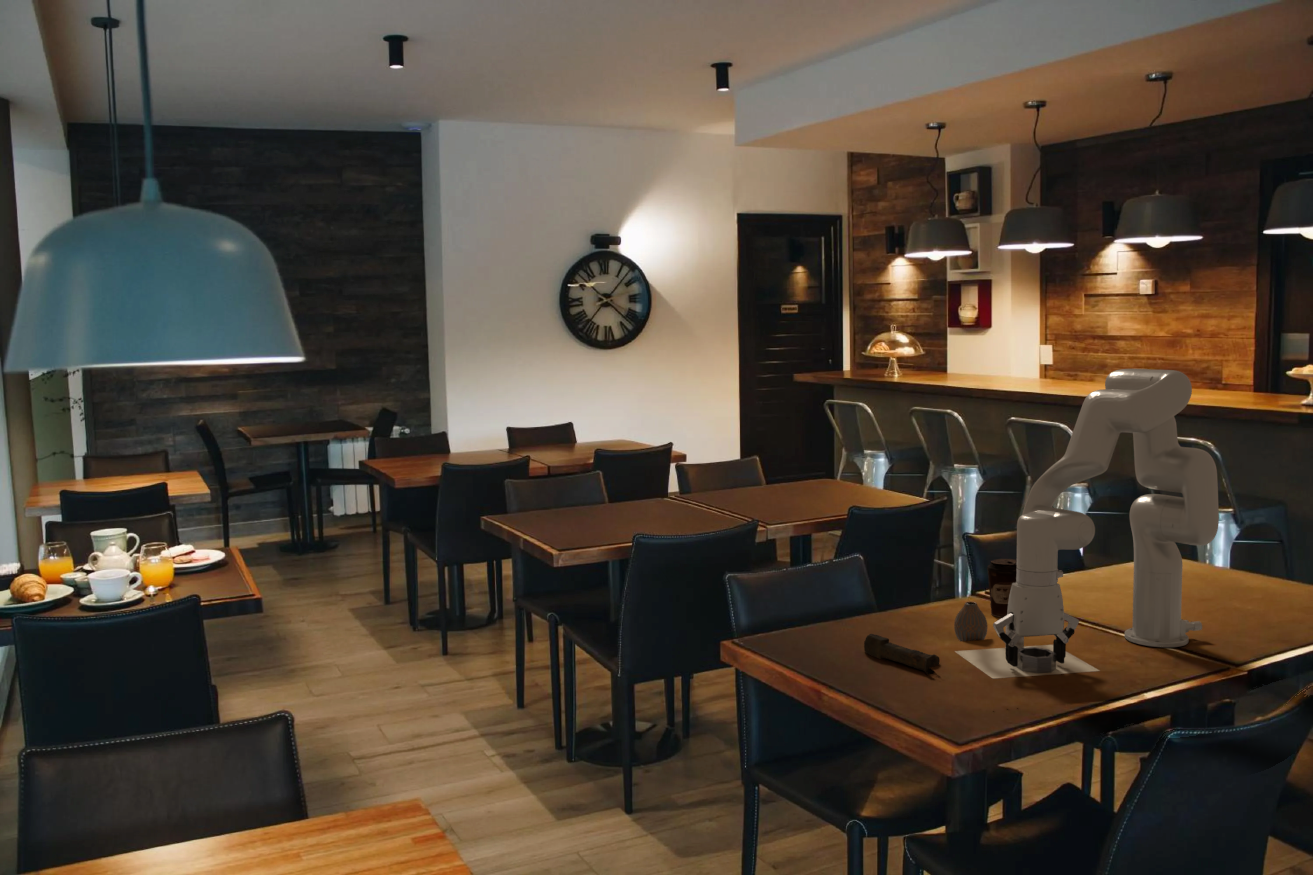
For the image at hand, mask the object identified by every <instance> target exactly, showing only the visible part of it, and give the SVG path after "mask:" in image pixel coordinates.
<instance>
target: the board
mask: <svg viewBox="0 0 1313 875" xmlns="http://www.w3.org/2000/svg"><path fill="white" fill-rule="evenodd" d="M1009 631H1010V630H1008V629H1007V625H1006V626H1005V634H1008V632H1009ZM1004 646H1005V647H1000V648H999V647H998V648H996V647H995V648H983V649H981V648H980V649H969V650H966V649H965V650H954V652H955V653H956V654H957V655H959V656H960V657H961V658H963V659H964V660H965V661H967V662H969V663H970V664H971V665H972V666H974V667H975V668H977V669H978V670H980V671H981V672H983V673H984V674H985V675H987V676H988V677H990V678H991V679H1007V678H1019V677H1020V678H1021V677H1032V676H1033V677H1034V676H1035V677H1036V676H1047V675H1048V676H1050V675H1061V674H1062V675H1063V674H1064V675H1067V674H1076V673H1078V674H1079V673H1080V674H1081V673H1091V672H1100V671H1101V670H1100V669H1098V668H1096V667H1094V666H1093V665H1091V664H1089V663H1087V662H1086V661H1084V660H1082V659H1081V658H1079V657H1077V656H1076V655H1073V654H1072V653H1070V652H1068V651H1066V656H1065V658H1064V663H1059V662H1058V661H1056V669H1055V670H1054V671H1053V672H1051V673H1031V672H1025V671H1022V670H1020V669H1019V668H1017V667H1013V666H1012V665H1010V664H1009V663H1008V662H1007V660H1006V643H1004ZM1015 646H1016V647H1018V649H1020V648H1028V647H1037V648H1043V649H1049V650H1051V651H1053V644H1042V645H1028V646H1025V637H1021V638H1020V639H1019V641H1018V642H1017V643H1016V644H1015Z"/></svg>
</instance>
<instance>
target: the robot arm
mask: <svg viewBox="0 0 1313 875" xmlns="http://www.w3.org/2000/svg"><path fill="white" fill-rule="evenodd" d="M1104 383H1105V384H1104V388H1105V389H1097V390H1094V391H1092V392H1090V393H1089V394H1087V396H1086V397H1085V398H1084V401H1083V402H1082V404H1081V405H1082V406H1081V408H1080V411H1079V413H1078V415H1077V416H1078V417H1077V419H1076V422H1075V424H1074V428H1073V431H1072V433H1071V436H1070V440H1069V442H1068V444H1067V447H1066V450H1065V453H1064V455H1063V456H1062V457H1061V458H1060V459H1059V460H1057V461H1056V462H1055V463H1054V464H1052V465H1051V466H1050V467H1049V468H1048V469H1046V471H1045V472H1044V473H1043V474H1042V475H1040V477H1039V478H1037V480H1036V481H1035V482H1034V484H1033V485H1032V487H1031V488H1030V489H1029V490H1030V491H1029V492H1028V495H1027V498H1026V502H1025V504H1024V507H1023V509H1022V514H1021V515H1020V516H1019V517H1018V519H1017V521H1016V522H1017V523H1016V560H1017V574H1016V583H1012V586H1011V590H1010V595H1009V601H1008V610H1007V615H1006V616H1005V617H1000V618H999V619H998V620H996V621H994V623H993V624H992V627H993V629H994V631H995V632H996V635H997V637H998V638H1000V639H1001V641H1003V643H1004V644H1005V643H1006V660H1007V662H1008V663H1009V664H1010V665H1012V666H1013V667H1016V666H1017V665H1018V647H1016V646H1015V644H1016V643H1017V642H1018V641H1019V639H1020V638H1021V637H1024V638H1027V637H1028V638H1029V637H1042V636H1043V637H1044V636H1054V637H1055V639H1053V642H1052V645H1053V652H1054V653H1056V661H1058V662H1059V663H1064V658H1065V656H1066V652H1067V650H1066V649H1067V644H1068V643H1069V641H1070V638H1071V637H1072V636H1073V635H1074V634H1075V631H1076V629H1077V626H1078V625H1079V623H1080V620H1079V619H1078V618H1076V617H1075V616H1072V615H1069V614H1068V613H1065V611H1064V610H1065V608H1064V599H1063V594H1062V589H1061V584H1059V583H1058V582H1059V578H1062V577H1064V572H1063V570H1059V569H1058V558H1059V557H1058V555H1059V554H1058V552H1059V551H1060V550H1074V551H1075V550H1080V549H1084V548H1085V547H1087V546H1088V545H1089V544H1091V542H1092V541H1093V540H1094V537H1095V534H1096V526H1095V524H1094V521H1093V519H1092V518H1091V517H1090V516H1088V515H1087V514H1085V513H1083V512H1081V511H1076V510H1069V509H1064V508H1059V507H1058V508H1057V507H1053V506H1054V504H1055V502H1056V501H1057V499H1058V497H1059V496H1060V495H1061V494H1062V493H1063V492H1064V491H1065V490H1067V489H1068V488H1070V487H1071V486H1073V485H1076V484H1078V483H1081V482H1083V481H1086V480H1089V479H1091V478H1094V477H1097V476H1100V475H1102V474H1104V473H1105V472H1107V470H1108V468H1109V466H1110V463H1111V461H1112V460H1111V459H1112V457H1113V453H1114V452H1115V448H1116V446H1117V443H1118V440H1119V438H1120V434H1121V433H1130V434H1132V436H1133V437H1132V438H1133V439H1132V440H1133V456H1134V457H1133V459H1134V460H1133V461H1134V471H1135V477H1136V481H1137V482H1138V483H1139V484H1140V485H1141V486H1142V487H1145V488H1146V489H1147V488H1148V489H1152V490H1158V491H1165V492H1171V493H1172V492H1174V493H1178V494H1179V493H1181V494H1182V497H1181V496H1176V495H1175V496H1174V495H1167V494H1159V493H1149V494H1147V493H1146V494H1144V495H1140V496H1139V497H1137V498H1136V499H1134V501H1133V502H1132V504H1131V506H1130V510H1129V524H1130V528H1131V533H1132V540H1133V543H1132V544H1133V580H1132V581H1133V583H1132V584H1133V587H1132V588H1133V589H1132V590H1133V591H1132V594H1133V595H1132V627H1130V628H1128V629H1126V630H1125V631H1124V638H1125V639H1126V640H1127V641H1129V642H1130V643H1134V644H1138V645H1141V646H1147V647H1154V648H1178V647H1184V646H1186V645H1187V644H1188V643H1189V637H1190V636H1188V635H1187V634H1186V633H1189V631H1191V632H1192V631H1193V632H1195V631H1196V632H1197V631H1202V630H1203V624H1202V622H1201V621H1200V620H1198V621H1197V620H1196V621H1189V620H1188V619H1182V593H1183V592H1182V590H1183V589H1182V588H1183V558H1182V555H1181V552H1180V549H1179V548H1178V545H1177V544H1176V543H1178V544H1184V545H1190V546H1206V545H1208V544H1210V543H1211V542H1212V541H1213V540H1214V539H1215V537H1216V536H1217V534H1218V530H1219V522H1220V521H1219V520H1220V519H1219V518H1220V515H1219V488H1218V486H1219V485H1218V470H1217V466H1216V462H1215V460H1214V458H1213V457H1212V456H1211V454H1210V453H1209V452H1208V451H1206V450H1204V449H1202V448H1201V449H1200V448H1197V447H1185V446H1181V445H1180V444H1179V441H1178V440H1179V439H1178V428H1177V422H1176V421H1177V420H1176V418H1175V416H1177V414H1179V413H1180V412H1182V410H1184V409H1185V408H1186V407H1187V405H1188V404H1189V403H1190V399H1191V398H1192V394H1193V393H1192V392H1193V388H1192V387H1193V386H1192V383H1191V380H1190V378H1189V377H1188V376H1187V374H1185V373H1184V372H1182V371H1179V370H1173V369H1150V368H1149V369H1148V368H1121V369H1117V370H1113V371H1112V372H1110V373H1109V374H1108V375H1107V376H1106V378H1105V382H1104ZM1065 621H1066V622H1067V626H1066V627H1065ZM1006 625H1007V629H1008V630H1010V631H1009V632H1008V634H1006V631H1005V630H1004V628H1006Z"/></svg>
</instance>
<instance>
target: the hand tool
mask: <svg viewBox="0 0 1313 875" xmlns="http://www.w3.org/2000/svg"><path fill="white" fill-rule="evenodd" d="M863 647H864V648H863V650H864V652H865V653H866V654H867V655H868V656H871V657H874V658H877V659H878V660H884V659H885V660H886V659H887V660H890V661H893V662H896V663H899V664H903V665H905V666H908V667H911V668H914V669H917V670H919V671H923V672H924V673H925V674H926V675H932V674H935V673H936V671H934V670H933V669H932V667H933V668H934V667H937V666H939V665H940V657H939V656H938V655H936V654H928V653H925V652H923V651H919V650H917V649H911V648H907V647H905V646H901V645H898V644H895V643H893V642H890V639H889V638H887V637H883V636H882V635H881V636H880V635H879V634H874V633H869V634H868V635H867V636H866V638H865V639H864V642H863Z"/></svg>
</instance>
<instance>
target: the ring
mask: <svg viewBox="0 0 1313 875" xmlns="http://www.w3.org/2000/svg"><path fill="white" fill-rule="evenodd" d="M1016 667H1017V668H1019V669H1020V670H1022V671H1025V672H1031V673H1051V672H1053V671H1054V670H1055V669H1056V653H1054V652H1053V651H1051V650H1049V649H1043V648H1037V647H1028V648H1020V649H1018V665H1017V666H1016Z"/></svg>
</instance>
